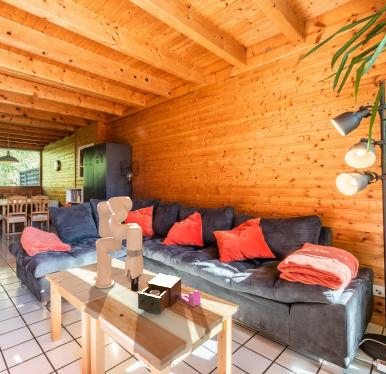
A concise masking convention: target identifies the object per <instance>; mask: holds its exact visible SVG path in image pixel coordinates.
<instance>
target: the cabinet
mask: <svg viewBox="0 0 386 374" xmlns="http://www.w3.org/2000/svg"><path fill="white" fill-rule="evenodd" d="M149 285H155V286H159V287H164V288H168V289H170V303H169V304H168V305H167V306H168V307H172V306H173V305H174V304H175V303H176V302H177V301H178V299H180V295H181V294H182V277H179V276H173V275H167V274H163V273H159V274H158V275H156V276H155V277H154V278H152V279H151V280H150V281H148V282H147V287H148V286H149Z"/></svg>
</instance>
